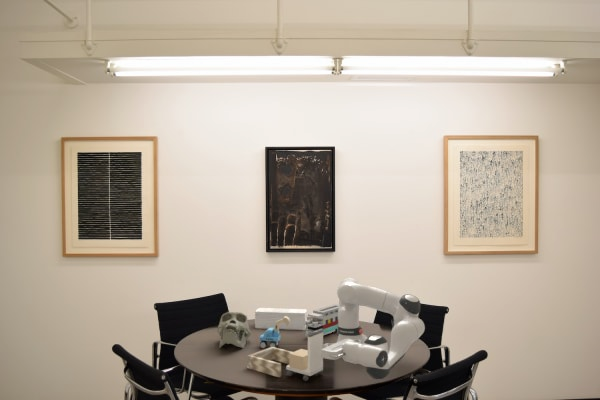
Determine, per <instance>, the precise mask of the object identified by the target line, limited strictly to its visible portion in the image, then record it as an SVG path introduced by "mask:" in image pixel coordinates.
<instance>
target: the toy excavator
mask: <svg viewBox="0 0 600 400" xmlns="http://www.w3.org/2000/svg"><path fill="white" fill-rule="evenodd" d="M284 322H285V323H286V326H288V325H289V324H290V319H289V317H287V316H285V317H284V318H283V319H281V320H279V321H277V322H276V323H275V328H269V329H266V330H265V331H264V333H263V334H261V335H259V340H260V342H259V347H260V348H261V349H267V348H269V347H275V348H278V346H279V344H280V340H281V337H282V335H281V332H280V329H279V325H281V324H282V323H284Z"/></svg>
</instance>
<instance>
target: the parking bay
mask: <svg viewBox="0 0 600 400" xmlns="http://www.w3.org/2000/svg"><path fill="white" fill-rule="evenodd" d="M292 352H293V351H291V350H287V349H283V348H278V347H276V348H275V347H266V348H263V349H262V350H259V351H256V352H254V353H251V354H248V355H247V357H246V358H247V366H246V368H247V369H250V370H253V371H256V372H260V373H263V374H266V375H270V376H273V377H277V378H282V363H283V364H287V365H289V354H290V353H292Z"/></svg>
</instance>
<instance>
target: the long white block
mask: <svg viewBox="0 0 600 400" xmlns="http://www.w3.org/2000/svg"><path fill="white" fill-rule="evenodd" d="M285 316H287V317H289V319H290V324H289V325H288V326H286V323H285V322H284V323H282V324H281V325H279V330H296V331H297V330H298V331H299V330H300V331H305V330H306V329H307V328H308V326H305V321H307V320H308V309H306V308H305V309H304V308H303V309H302V308H280V307H278V308H277V307H276V308H274V307H258V308H257V309H256V310H255V311H254V328H255V329H266V330H267V329H269V328H275V323H276V322H277V321H279V320H281V319H283V318H284V317H285Z"/></svg>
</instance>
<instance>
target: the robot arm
mask: <svg viewBox="0 0 600 400" xmlns="http://www.w3.org/2000/svg"><path fill="white" fill-rule="evenodd" d="M336 292H337V293H336V294H337V297H338V305H339V309H338V327H337V333H336V335H337V341H336V342H334V343H323V349H321V357H322V358H323V359H327V360H331V361H332V360H333V361H334V360H335V361H336V360H338V359H341V358H342V359H343V361H344V362H347V363H351V364H355V365H357V364H359V365H361V366H364V367H365V372H366V373H367V375H368V376H369V377H370V378H372V379H374V380H382V379H385V378H386V377H388V375H389V374H390V372H391V370H392V369H393V368H394V367H395V366H396V365H397V364H398V363H399V362H400V361H401V360H402V359H403V358H404V356H405V355H406V354H407V351H408V349H409V348H410V346H411V345H412V344H413V343H414V342H416V341H417V340H418V339H419V338H420V337H421V336H422V335H423V334H424V332H425V329H426V326H425V323H424V321H423V320H422V319H420V317H419V314H420V313H421V301H420V299H419V298H418V297H416V296H415V295H413V294H403V295H401V296H400V295H398V294H396V293H393V292H391V291H389V290H388V291H387V290H385V289H382V288H378V287H376V286H371V285H370V286H369V285H364V284H361V283H360V282H358V280H357V279H355V278H353V277H346V278H344V279H342V281H341V282H340V284H339V285H338V287H337V291H336ZM360 307H365V308H369V309H373V310H376V311H378V312H379V311H380V312H383V313H385V314H386V313H387V314H390V315H391V316H392V317H393V318H392V319H391V326H392V329H391V332H390V344H388V340H387V339H386V338H385V337H384V336H382V335H380V334H370V335H369V336H367V335H365V334H364V328H363V326H361V325H360Z"/></svg>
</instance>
